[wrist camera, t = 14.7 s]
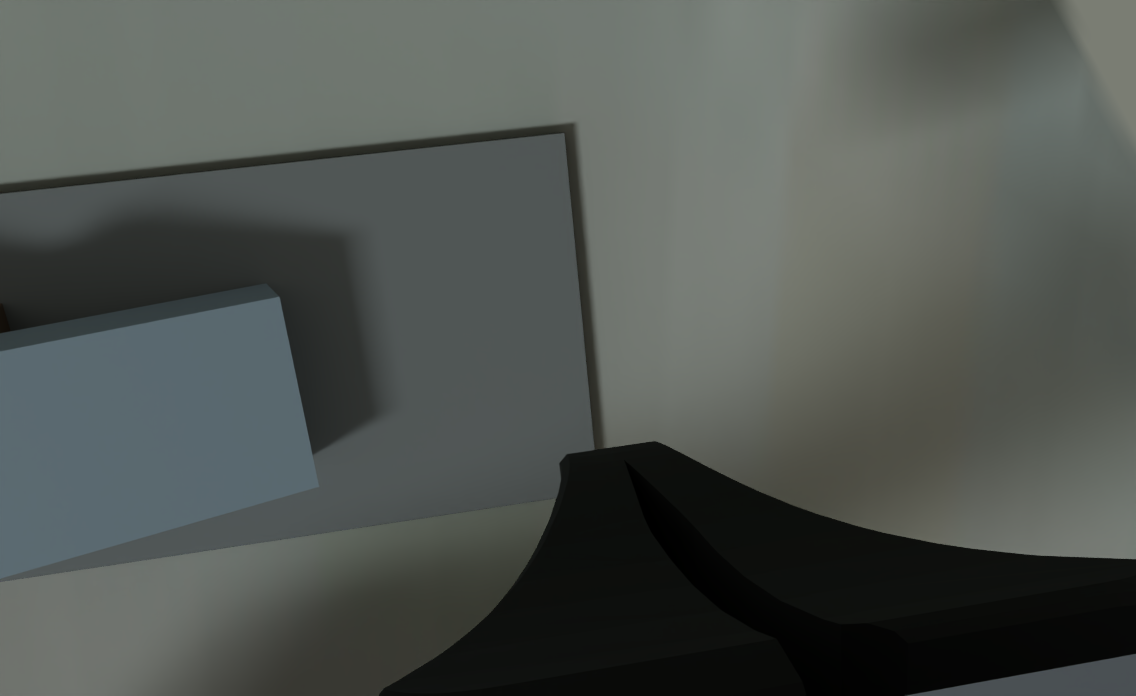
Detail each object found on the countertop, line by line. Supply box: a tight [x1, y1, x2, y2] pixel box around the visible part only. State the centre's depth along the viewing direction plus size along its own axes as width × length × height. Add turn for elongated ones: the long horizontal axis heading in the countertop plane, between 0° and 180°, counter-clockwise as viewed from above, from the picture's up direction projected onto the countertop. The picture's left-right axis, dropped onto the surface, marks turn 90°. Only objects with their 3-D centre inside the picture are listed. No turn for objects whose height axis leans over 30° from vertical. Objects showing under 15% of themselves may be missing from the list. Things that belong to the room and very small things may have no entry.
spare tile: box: [0, 283, 319, 579], centre depth 18 cm, size 2×4×7 cm
